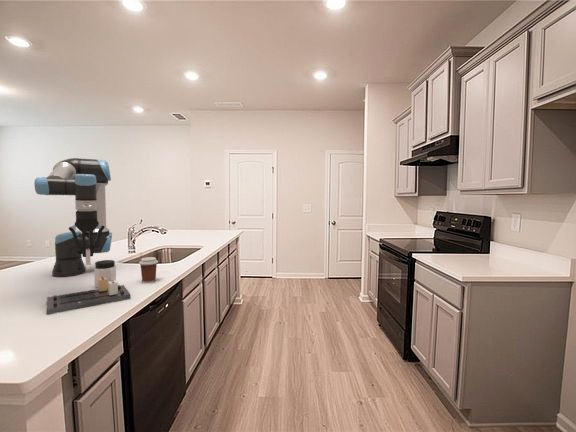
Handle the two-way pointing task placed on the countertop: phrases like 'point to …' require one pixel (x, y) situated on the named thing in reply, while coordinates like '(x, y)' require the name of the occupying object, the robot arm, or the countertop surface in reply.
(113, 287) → the fader
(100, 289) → the block
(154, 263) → the coffee cup
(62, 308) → the console
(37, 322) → the countertop surface
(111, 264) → the jar
